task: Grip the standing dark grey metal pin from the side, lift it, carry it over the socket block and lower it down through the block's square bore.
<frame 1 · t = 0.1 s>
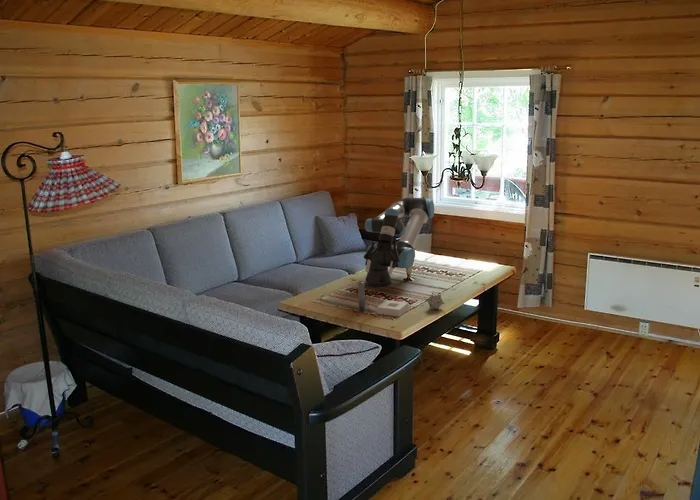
hand: (378, 272, 358), 15 cm above the table, tool tilted 35°, fingers open, 13 cm apart
game die: (435, 309, 344), on the table
pin: (362, 310, 346), on the table
socket block: (393, 311, 343), on the table
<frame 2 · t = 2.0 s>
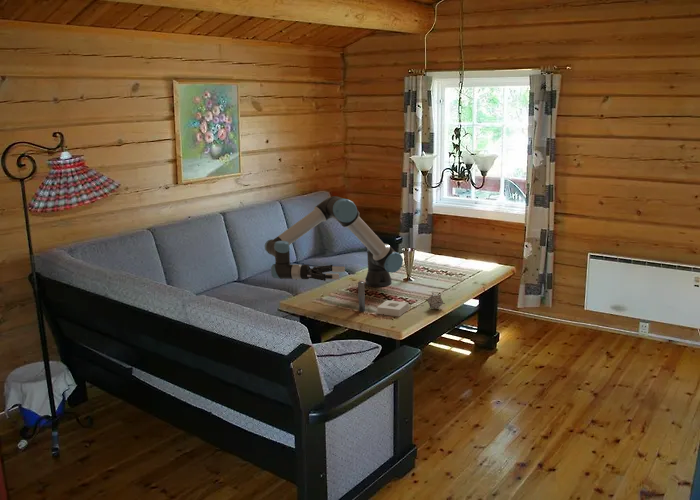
hand: (341, 272, 344), 20 cm above the table, tool horizontal, fingers open, 13 cm apart
nothing on the table moved.
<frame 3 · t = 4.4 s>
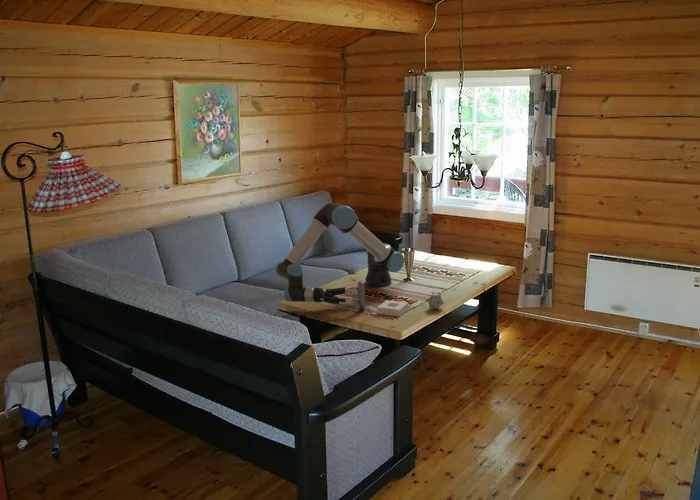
hand: (354, 295, 345), 8 cm above the table, tool horizontal, fingers open, 13 cm apart
nothing on the table moved.
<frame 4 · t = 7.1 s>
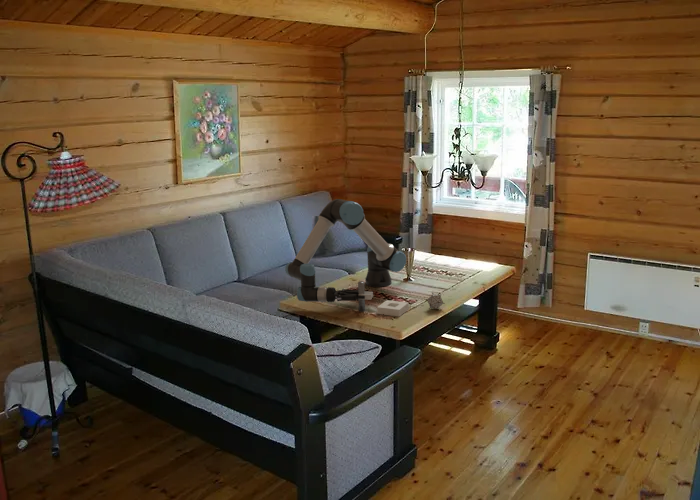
hand: (372, 295, 343), 8 cm above the table, tool horizontal, fingers closed on pin, 3 cm apart
pin: (362, 310, 346), on the table, touching gripper
everything else where it was.
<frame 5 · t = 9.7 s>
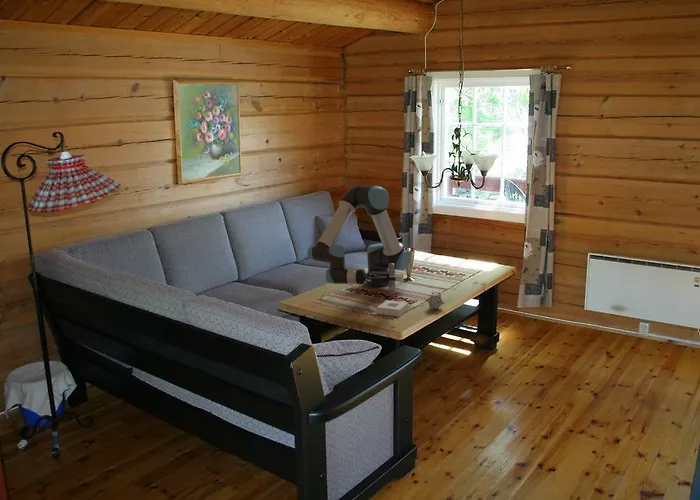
hand: (402, 277, 338), 18 cm above the table, tool horizontal, fingers closed on pin, 3 cm apart
pin: (392, 292, 341), point 10 cm above the table, touching gripper
everything else where it was.
when the fingers open (9 cm above the table, at t = 12.3 s): pin drops 1 cm, resting in socket block.
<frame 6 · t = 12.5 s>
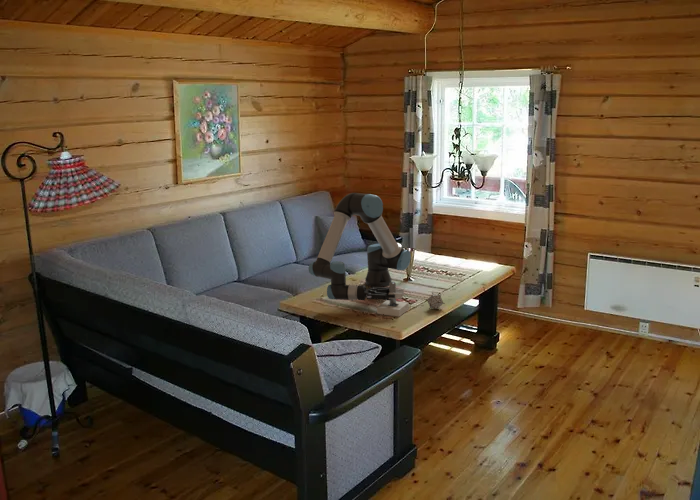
hand: (402, 293, 340), 9 cm above the table, tool horizontal, fingers open, 6 cm apart
pin: (393, 311, 343), resting in socket block
everything else where it was.
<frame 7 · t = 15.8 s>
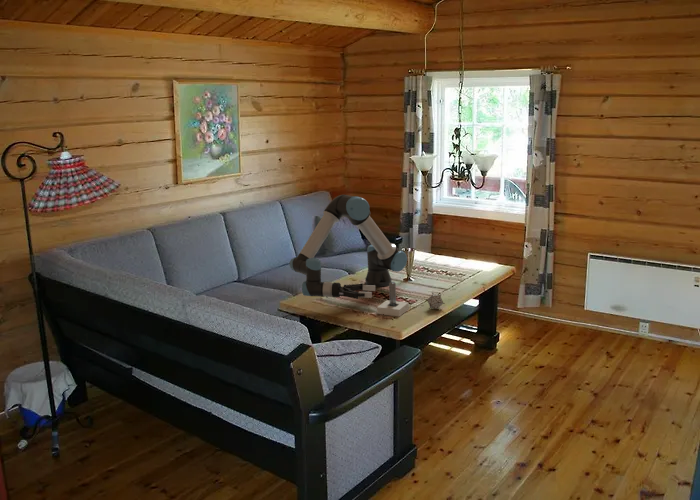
hand: (373, 291, 343), 10 cm above the table, tool horizontal, fingers open, 13 cm apart
nothing on the table moved.
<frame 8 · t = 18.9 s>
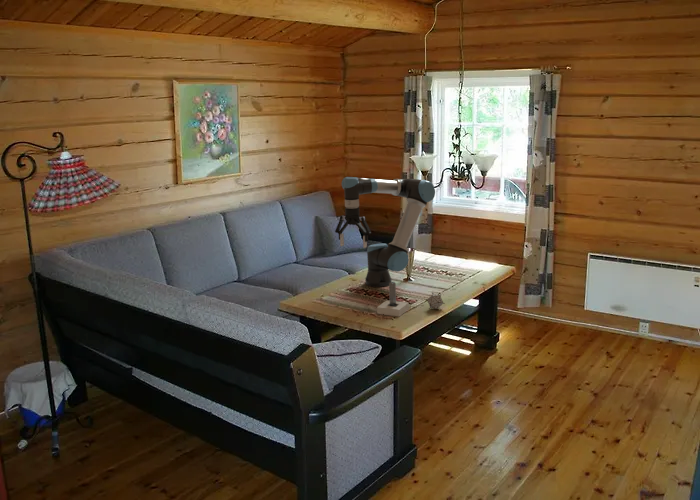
hand: (353, 246, 360), 29 cm above the table, tool pointing down, fingers open, 13 cm apart
nothing on the table moved.
at the end: pin 0.1 cm off-centre on the socket block, point 0.0 cm above the socket block's base; pin tilted 0°; the gripper is holding nothing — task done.
